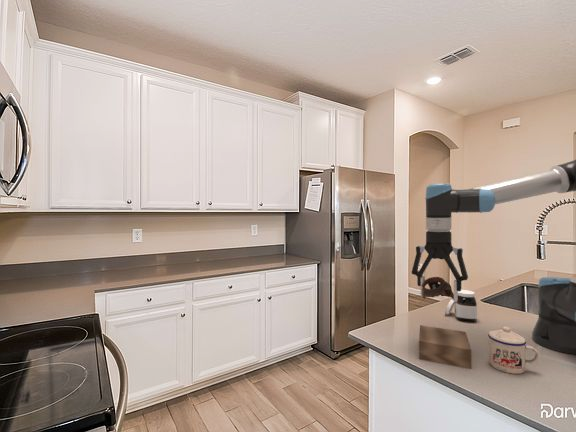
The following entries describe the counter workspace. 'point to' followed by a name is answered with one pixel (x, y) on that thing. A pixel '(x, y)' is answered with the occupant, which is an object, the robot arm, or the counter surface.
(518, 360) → the teacup with lid
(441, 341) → the walnut block
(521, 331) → the counter surface
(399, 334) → the counter surface
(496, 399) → the counter surface
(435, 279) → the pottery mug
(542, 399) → the counter surface
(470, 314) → the spread jar
